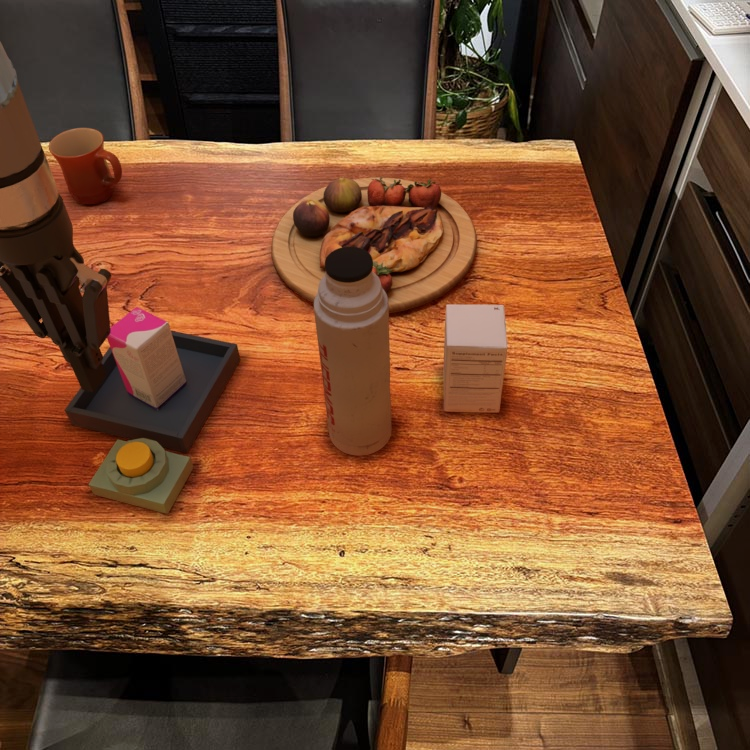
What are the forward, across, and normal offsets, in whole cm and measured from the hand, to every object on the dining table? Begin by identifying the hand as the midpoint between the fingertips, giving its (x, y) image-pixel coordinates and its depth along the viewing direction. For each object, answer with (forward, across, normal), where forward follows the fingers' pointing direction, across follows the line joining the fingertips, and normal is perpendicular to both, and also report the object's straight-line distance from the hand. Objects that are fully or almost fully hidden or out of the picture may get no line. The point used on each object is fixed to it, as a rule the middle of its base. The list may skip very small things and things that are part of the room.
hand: (94, 381), depth 88 cm
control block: (+16, -3, +2) cm, 16 cm away
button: (+12, -3, +2) cm, 12 cm away
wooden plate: (+16, -17, -48) cm, 53 cm away
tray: (+16, +2, -12) cm, 20 cm away
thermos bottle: (+16, -26, -13) cm, 33 cm away
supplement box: (+15, +2, -12) cm, 19 cm away
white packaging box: (+15, -38, -23) cm, 47 cm away
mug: (+16, +32, -49) cm, 61 cm away
